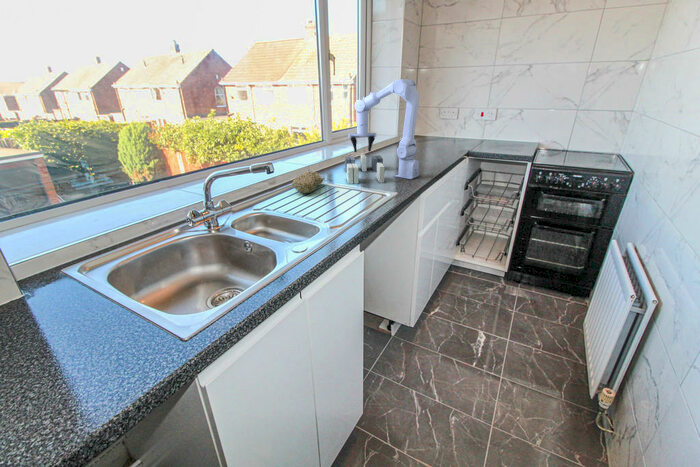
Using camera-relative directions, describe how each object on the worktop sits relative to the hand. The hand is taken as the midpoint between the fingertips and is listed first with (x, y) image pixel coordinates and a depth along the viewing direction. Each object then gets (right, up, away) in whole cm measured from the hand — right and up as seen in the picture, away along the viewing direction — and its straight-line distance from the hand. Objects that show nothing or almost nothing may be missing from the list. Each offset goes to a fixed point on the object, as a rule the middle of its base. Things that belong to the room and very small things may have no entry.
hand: (362, 151), depth 175 cm
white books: (+1, -19, -18) cm, 26 cm away
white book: (+1, -9, +3) cm, 10 cm away
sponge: (-25, -25, -30) cm, 46 cm away
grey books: (+1, -9, +3) cm, 10 cm away
